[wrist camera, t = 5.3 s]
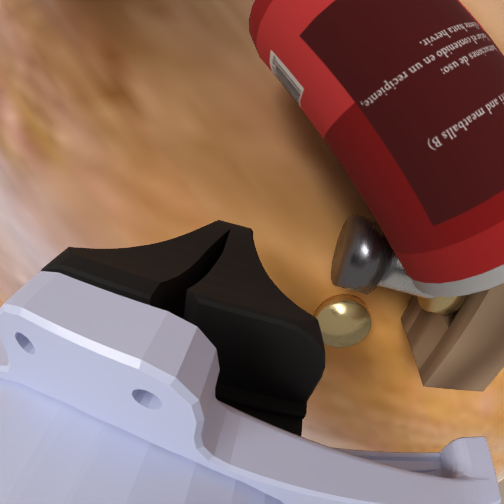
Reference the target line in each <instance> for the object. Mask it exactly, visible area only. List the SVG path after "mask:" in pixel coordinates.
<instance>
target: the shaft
mask: <svg viewBox="0 0 504 504" xmlns="http://www.w3.org/2000/svg"><path fill="white" fill-rule="evenodd" d="M331 280H332V283H333V285H335V286H339V287H343V288H347V289H350V290H354V291H358V292H362V293H367V294H368V293H370V292H372V291H373V290H374V289H375V288H376V286H377V285H378V286H381V287H385V288H389V289H393V290H396V291H400V292H404V293H408V294H411V295H415V296H417V297H418V302H419V304H420V306H421V307H422V309H424V310H426V311H429V312H433V313H437V314H441V315H451V314H453V313H455V312H456V311H457V310H458V309H459V308H461V307H462V305H463V303H464V302H465V300H466V298H467V296H468V295H462V296H453V297H440V296H431V295H428V294H425V293H422V292H421V291H420V290H418V289H417V288H416V287H415V286H414V284H413V282H412V280H411V279H410V278H409V277H408V275H407V274H406V272H405V270H404V268H403V266H402V264H401V263H400V261H399V259H398V257H397V255H396V254H395V252H394V251H393V249H392V247H391V246H390V244H389V242H388V240H387V239H386V237H385V235H384V233H383V231H382V230H381V228H380V226H379V225H378V223H377V221H376V220H373V219H369V218H366V217H363V216H360V215H357V214H351V215H350V216H349V217H348V218H347V220H346V221H345V223H344V225H343V227H342V230H341V232H340V235H339V238H338V241H337V244H336V248H335V252H334V256H333V261H332V269H331Z"/></svg>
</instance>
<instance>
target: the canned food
mask: <svg viewBox="0 0 504 504" xmlns="http://www.w3.org/2000/svg"><path fill="white" fill-rule="evenodd" d="M249 32H250V34H251V37H252V39H253V42H254V44H255V47H256V49H257V52H258V54H259V56H260V58H261V59H262V60H263V61H264V63H265V64H266V65H267V66H268V67H269V69H270V70H271V71H272V72H273V73H274V75H275V76H276V77H277V78H278V80H279V81H280V82H281V83H282V85H283V86H284V87H285V88H286V90H287V91H288V92H289V93H290V95H291V96H292V97H293V98H294V100H295V101H296V102H297V104H298V105H299V106H300V108H301V109H302V110H303V112H304V113H305V114H306V116H307V117H308V118H309V120H310V121H311V122H312V124H313V125H314V126H315V128H316V129H317V131H318V132H319V133H320V135H321V136H322V138H323V139H324V140H325V142H326V143H327V145H328V146H329V148H330V149H331V151H332V152H333V153H334V155H335V156H336V158H337V159H338V161H339V162H340V164H341V165H342V167H343V168H344V170H345V171H346V173H347V174H348V176H349V177H350V179H351V181H352V182H353V184H354V185H355V187H356V188H357V190H358V192H359V193H360V195H361V196H362V198H363V200H364V201H365V203H366V204H367V206H368V208H369V209H370V211H371V213H372V214H373V216H374V218H375V219H376V221H377V223H378V225H379V226H380V228H381V230H382V231H383V233H384V235H385V237H386V239H387V240H388V242H389V244H390V246H391V247H392V249H393V251H394V252H395V254H396V255H397V257H398V259H399V261H400V263H401V264H402V266H403V268H404V270H405V272H406V274H407V275H408V277H409V278H410V279H411V280H412V282H413V284H414V286H415V287H416V288H417V289H418V290H420V291H421V292H422V293H425V294H428V295H431V296H440V297H453V296H462V295H469V294H472V293H476V292H480V291H484V290H487V289H490V288H493V287H495V286H497V285H500V284H502V283H504V56H503V54H502V53H501V51H500V50H499V49H498V47H497V46H496V44H495V43H494V42H493V41H492V39H491V38H490V37H489V35H488V34H487V33H486V32H485V30H484V29H483V28H482V27H481V25H480V24H479V23H478V22H477V20H476V19H475V18H474V17H473V16H472V15H471V13H470V12H469V11H468V10H467V9H466V8H465V7H464V6H463V5H462V3H461V2H460V1H459V0H255V2H254V4H253V6H252V10H251V14H250V18H249Z"/></svg>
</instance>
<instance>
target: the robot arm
mask: <svg viewBox="0 0 504 504" xmlns="http://www.w3.org/2000/svg"><path fill="white" fill-rule="evenodd" d="M324 369H325V349H324V342H323V338H322V333H321V329H320V325H319V321H318V319H317V318H315V317H314V316H312V315H310V314H309V313H307V312H306V311H304V310H303V309H301V308H300V307H298V306H297V305H296V304H295V303H293V302H292V301H291V300H290V299H289V298H288V297H286V296H285V295H284V294H283V293H282V292H281V291H280V290H279V288H278V287H277V286H276V285H275V284H274V283H273V281H272V280H271V279H270V278H269V276H268V275H267V273H266V271H265V270H264V268H263V266H262V263H261V261H260V259H259V257H258V254H257V251H256V248H255V245H254V240H253V231H252V229H251V228H247V227H243V226H239V225H235V224H232V223H228V222H224V221H220V220H218V221H215V222H213V223H211V224H209V225H206V226H204V227H202V228H200V229H197V230H195V231H193V232H190V233H187V234H185V235H182V236H179V237H177V238H174V239H171V240H167V241H164V242H159V243H155V244H151V245H144V246H137V247H130V248H118V249H89V248H74V247H68V248H67V249H66V250H65V251H63V252H62V253H61V254H60V255H58V256H57V257H56V258H55V259H53V260H52V261H51V262H50V263H49V264H47V265H46V266H45V267H44V268H43V269H42V270H41V271H40V272H39V273H38V274H36V275H35V276H34V277H33V278H32V279H31V280H30V281H28V282H27V283H26V284H25V285H24V286H23V287H22V288H21V289H19V290H18V291H17V292H16V293H15V294H14V295H13V296H12V297H11V298H10V299H9V300H7V301H6V302H5V303H4V304H3V306H2V307H1V308H0V504H499V503H500V502H501V495H500V490H499V486H498V482H497V477H496V473H495V469H494V465H493V462H492V458H491V454H490V451H489V447H488V444H487V441H486V437H483V436H482V437H462V438H458V439H456V440H453V441H452V442H450V443H449V444H447V445H446V446H445V447H444V448H443V449H442V450H441V452H436V453H401V452H377V451H362V450H351V449H341V448H332V447H328V446H325V445H322V444H319V443H317V442H314V441H311V440H308V439H306V438H303V437H301V432H302V419H304V417H305V415H306V408H307V400H308V399H309V397H310V396H311V394H312V392H313V391H314V389H315V387H316V386H317V384H318V382H319V381H320V379H321V377H322V374H323V371H324Z"/></svg>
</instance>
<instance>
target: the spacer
mask: <svg viewBox="0 0 504 504" xmlns="http://www.w3.org/2000/svg"><path fill="white" fill-rule="evenodd" d="M315 318H317V319H318V321H319V325H320V329H321V333H322V338H323V342H324V344H326V345H329V346H332V347H348V346H351V345H354V344H356V343H358V342H360V341H361V340H362V339H363V338H365V336H366V335H367V334H368V332H369V330H370V327H371V319H370V315H369V311H368V308H367V305H366V304H365V303H364V301H362V300H361V299H360V298H358V297H356V296H353V295H346V294H343V295H336V296H333V297H330V298H328V299H327V300H325V301H324V302H322V303H321V304H320V305H319V307H318V308H317V310H316V312H315Z"/></svg>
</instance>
